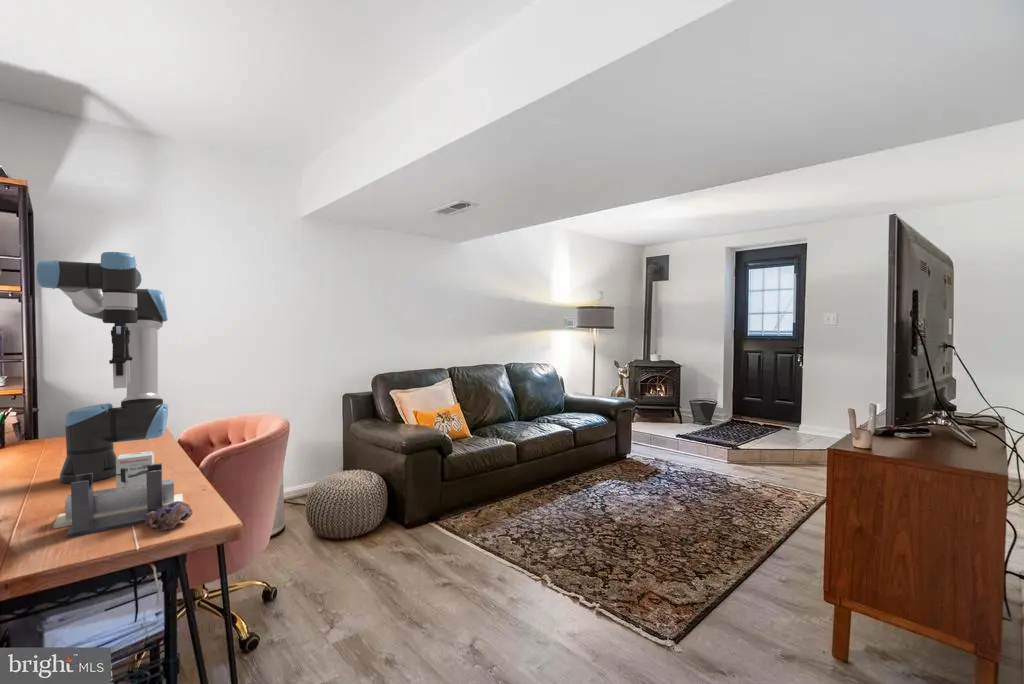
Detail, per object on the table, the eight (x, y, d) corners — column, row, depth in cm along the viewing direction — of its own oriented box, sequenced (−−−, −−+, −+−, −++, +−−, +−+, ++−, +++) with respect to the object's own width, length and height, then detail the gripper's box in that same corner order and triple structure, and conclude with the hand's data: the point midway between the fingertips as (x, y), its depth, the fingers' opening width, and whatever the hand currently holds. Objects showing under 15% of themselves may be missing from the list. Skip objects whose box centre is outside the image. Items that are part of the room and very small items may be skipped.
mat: (59, 518, 123) (59, 514, 123) (182, 496, 138) (182, 493, 138) (53, 528, 117) (53, 524, 117) (183, 505, 132) (183, 501, 132)
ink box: (116, 499, 137) (115, 458, 136) (118, 494, 141) (117, 454, 140) (153, 493, 141) (152, 454, 141) (154, 489, 145) (153, 450, 145)
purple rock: (135, 527, 117) (134, 502, 117) (168, 516, 124) (167, 492, 124) (167, 535, 113) (166, 509, 113) (199, 523, 120) (198, 498, 120)
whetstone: (69, 514, 123) (68, 495, 123) (173, 496, 136) (173, 478, 136) (65, 520, 119) (65, 500, 119) (174, 501, 132) (173, 483, 132)
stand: (72, 526, 118) (70, 475, 118) (167, 508, 129) (166, 462, 129) (66, 537, 111) (64, 484, 111) (167, 518, 122) (166, 469, 122)
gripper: (106, 310, 141) (109, 382, 141) (96, 306, 120) (99, 391, 121) (139, 310, 145) (141, 381, 146) (134, 307, 125) (137, 388, 125)
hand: (122, 385), depth 133 cm, fingers open, 13 cm apart
